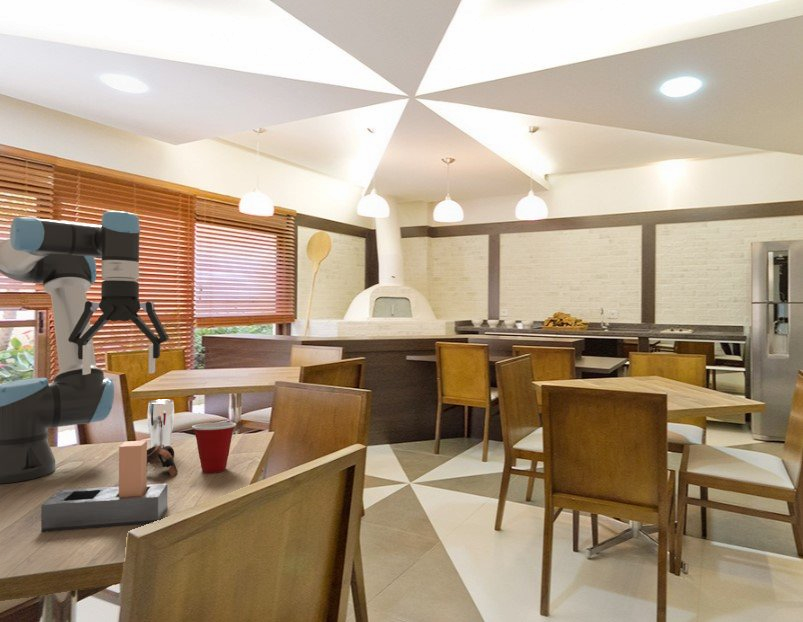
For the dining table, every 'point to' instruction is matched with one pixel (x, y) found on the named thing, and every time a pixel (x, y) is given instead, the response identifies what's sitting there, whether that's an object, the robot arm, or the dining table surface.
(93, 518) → the grey peg hole block
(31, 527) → the dining table surface
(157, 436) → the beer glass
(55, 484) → the dining table surface
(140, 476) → the terracotta peg
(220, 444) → the plastic cup
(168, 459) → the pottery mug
